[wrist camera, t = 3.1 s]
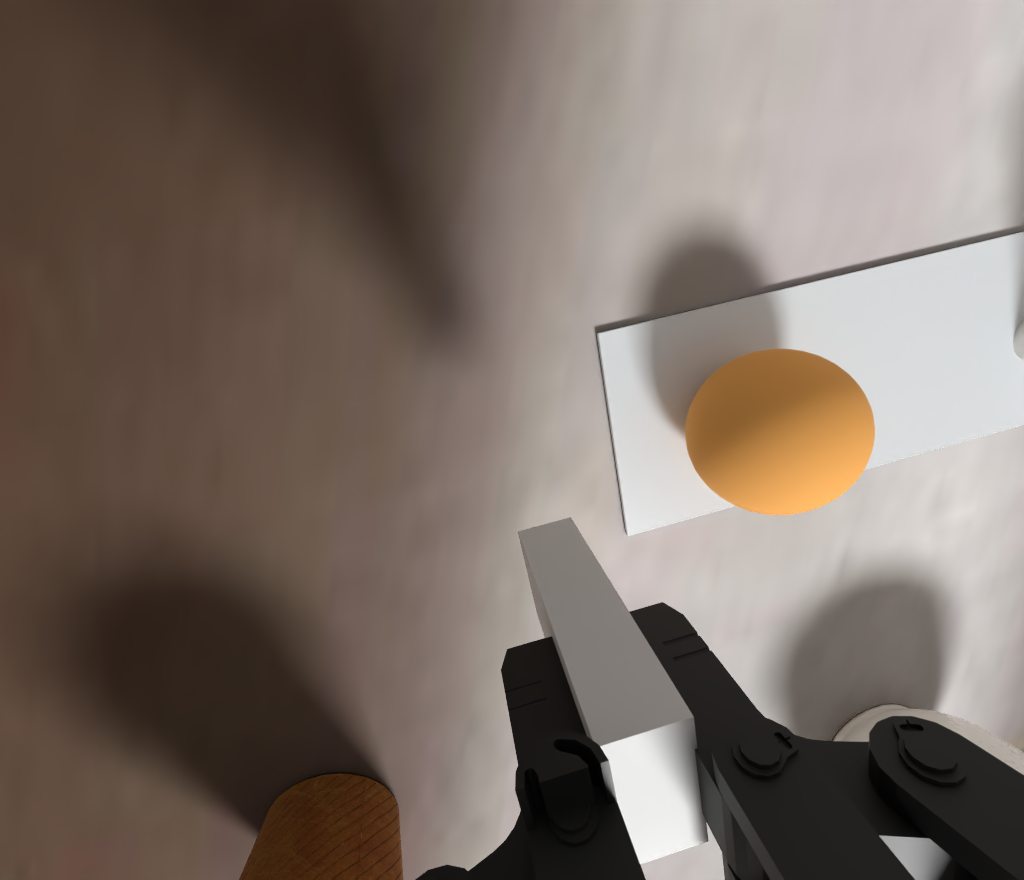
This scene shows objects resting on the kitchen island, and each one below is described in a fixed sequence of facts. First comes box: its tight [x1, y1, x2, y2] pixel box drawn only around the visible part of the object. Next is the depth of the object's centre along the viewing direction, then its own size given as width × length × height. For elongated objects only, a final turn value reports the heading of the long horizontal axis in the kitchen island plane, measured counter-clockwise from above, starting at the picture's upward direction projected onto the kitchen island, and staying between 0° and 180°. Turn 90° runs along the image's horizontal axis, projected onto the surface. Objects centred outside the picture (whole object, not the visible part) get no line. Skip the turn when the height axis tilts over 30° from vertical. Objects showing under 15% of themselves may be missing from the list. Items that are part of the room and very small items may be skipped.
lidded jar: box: [833, 704, 1024, 775], centre depth 24 cm, size 11×11×9 cm
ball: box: [685, 349, 875, 515], centre depth 18 cm, size 6×6×6 cm
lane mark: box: [597, 231, 1024, 536], centre depth 21 cm, size 25×9×1 cm, turn 102°
